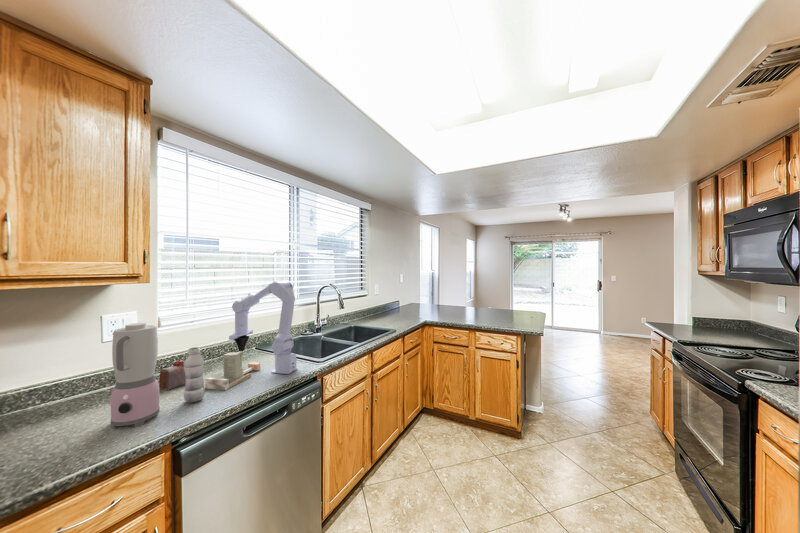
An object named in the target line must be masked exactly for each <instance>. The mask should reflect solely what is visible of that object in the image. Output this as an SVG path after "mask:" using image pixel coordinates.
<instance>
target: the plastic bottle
mask: <svg viewBox="0 0 800 533" xmlns="http://www.w3.org/2000/svg"><path fill="white" fill-rule="evenodd" d="M187 351H188V352H187V355H188V356H187V357H186V358H185V360H184V361H183V362H184V370H185V377H186V384H185V385H184V392H183V399H184V400H183V401H185V402H186V403H189V404H190V403H196V402H199V401H202V400H203V398H204V397H205V386H204V381H203V379H204V378H203V376H204V375H203V373H204V365H205V360H204V358H203V356H202V355H201V347H198V346H196V347H190V348H188V349H187Z"/></svg>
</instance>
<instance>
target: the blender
mask: <svg viewBox="0 0 800 533" xmlns="http://www.w3.org/2000/svg"><path fill="white" fill-rule="evenodd" d="M158 340H159V338H158V328H157V326H156V325H152V324H151V325H150V324H149V325H147V324H146V323H145V322H137V323H128V324H126V325H125V327H121V328H118V329H115V330H114V331H113V333H112V345H111V346H112V349H111V350H112V354H111V355H112V356H111V358H112V368H113V370H114V376H115V379H116V380H115V381H116V383H115V386H114V388H112V392H111V395H110V426H111V429H113V430H115V429H117V427H123V426H130V425H134V426H135V427H137V428H138V427H141V426H143V425H144V424H145V421H147V420H149V419H151V418H153V417H155V416H157V415H159V413H160V411H161V407H160V388H159V380H157V378H156V376H155V372H156V366H157V362H158V352H159V351H158V350H159V348H158V347H159V345H158V344H159V342H158ZM135 427H134V428H135Z"/></svg>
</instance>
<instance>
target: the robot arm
mask: <svg viewBox="0 0 800 533" xmlns="http://www.w3.org/2000/svg"><path fill="white" fill-rule="evenodd" d="M270 294H272V295H274V296H275V297H276V298H278V299H279V300H280V301H282V302H281V311H280V318H279V326H278V332H277V334H276V336H275V337H274V340H273V342H272V344H271V350H272V352H273V354H274V369H273V370H272V371H271V374H285V375H289V374H291V373H293V372H294V371H296V370H297V369H298V367H297V355H296V353H295V352H292V349H293V347H294V345H295V344H294V343H295V342H294V335H293V334H291V329H292V322H293V317H294V316H293V314H294V310H295V302H296V300H295V299H296V297H295V296H296V295H295V293H294V285H293V283H292V282H290V280H289V281H288V280H282V281H273V282H271V283H269V284H268V285H267V286H265V287H264V288H262V289H261V290H259V291H258V292H256V293H254V292H251V293H248V294H247V296H246V297H242V298H241V300H235V301H234V302H233V303H232V305H231V309H232V311H233V312H234V332H233V334H231V335H229V336H228V340H229V341H234V342H235V344H236V346H237V350H238V351H239V352H243V351H245V349H246V346H247V342H248V341H249V339H250V336H249V335H252V334H253V333H254V331H253V329H249V328H248V327H249V326H248V325H249V321H248V319H249V316H248V315H249V311H250V309H251V308H252V307H255V306H256V305H258V304H259V303H260V300H261V299H263V298H265V297H267V296H268V295H270Z"/></svg>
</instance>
